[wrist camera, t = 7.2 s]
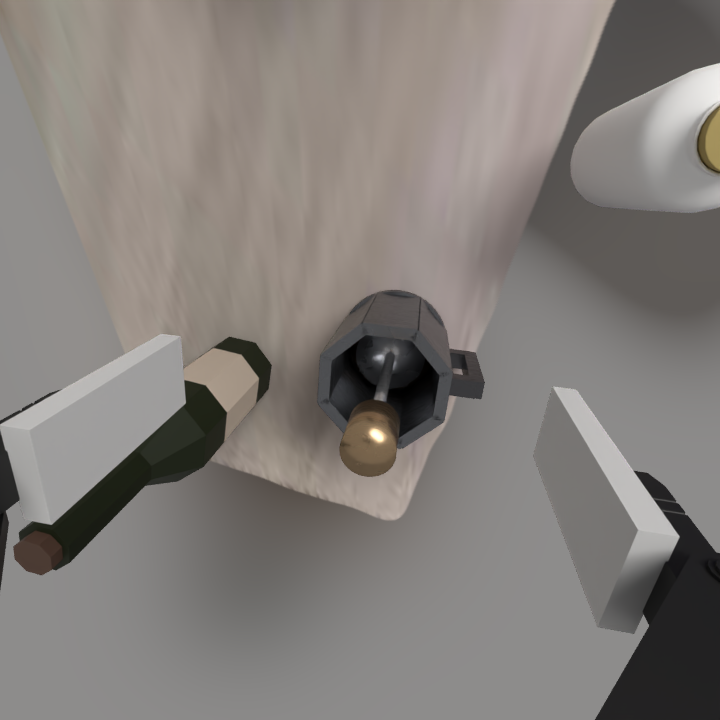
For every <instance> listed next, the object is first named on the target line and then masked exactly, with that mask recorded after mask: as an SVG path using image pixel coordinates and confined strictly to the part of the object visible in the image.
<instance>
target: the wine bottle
mask: <svg viewBox="0 0 720 720" xmlns="http://www.w3.org/2000/svg"><path fill="white" fill-rule="evenodd" d="M271 366H272V365H271V364H270V362H269V361H268V360H267V358H266V357H265V355H264V354H263V353H262V351H261V350H260V349H259V347H258V346H257V344H256V343H253V342H249V341H245V340H241V339H237V338H233V337H228V338H227V339H225V340H224V341H222V342H221V343H219V344H218V345H217V346H215V347H214V348H212V349H211V350H209V351H208V352H206V353H205V354H203V355H202V356H201V357H199V358H198V359H196V360H195V361H193V362H192V363H191V364H189V365H188V366H186V367H185V368H183V371H184V384H185V398H186V404H185V405H183V406H182V407H181V408H180V409H179V410H178V411H177V412H176V413H175V414H174V415H172V416H171V417H170V418H169V419H168V420H167V421H166V422H165V423H164V424H162V425H161V426H160V427H159V428H158V429H157V430H156V431H155V432H154V433H153V434H151V435H150V436H149V437H148V438H147V439H146V440H145V441H144V442H143V443H141V444H140V445H139V446H138V447H137V448H136V449H135V450H134V451H133V452H132V453H130V454H129V455H128V456H127V457H126V458H125V459H124V460H123V461H122V462H120V463H119V464H118V465H117V466H116V467H115V468H114V469H113V470H112V471H111V472H109V473H108V474H107V475H106V476H105V477H104V478H103V479H102V480H101V481H100V482H98V483H97V484H96V485H95V486H94V487H93V488H92V489H91V490H90V491H88V492H87V493H86V494H85V495H84V496H83V497H82V498H81V499H80V500H79V501H77V502H76V503H75V504H74V505H73V506H72V507H71V508H70V509H69V510H67V511H66V512H65V513H64V514H63V515H62V516H61V517H60V518H59V519H58V520H56V521H55V522H54V523H53V524H52V525H50V524H44V523H39V522H34V521H32V522H31V523H30V524H29V525H27V526H26V527H25V528H24V529H22V530H21V531H20V532H19V538H20V542H19V543H18V544H16V545H15V546H14V556H15V560H16V561H17V562H18V563H19V564H20V565H21V566H22V567H23V568H24V569H25V570H26V571H28V572H32V573H36V574H39V575H43V574H45V573H47V572H49V571H50V570H52V569H54V570H57V569H59V568H61V567H63V566H65V565H66V564H68V563H70V562H71V561H72V560H73V559H74V558H75V557H76V556H77V555H78V554H79V553H80V552H81V551H82V549H84V547H86V545H87V544H88V543H89V542H90V541H91V540H92V539H93V538H94V537H95V536H96V535H97V534H98V533H99V532H100V531H101V530H102V529H103V528H104V527H105V526H106V525H107V524H108V523H109V522H110V521H111V520H112V519H113V518H114V517H115V516H116V515H117V514H118V513H119V512H120V511H121V510H122V509H123V508H124V507H125V506H126V505H127V504H128V502H130V501H131V500H132V499H133V498H134V497H135V496H136V494H137V493H138V492H139V491H140V490H141V489H142V488H143V487H144V486H147V485H154V484H161V483H169V482H176V481H179V480H181V479H183V478H184V477H186V476H188V475H190V474H191V473H193V472H195V471H197V470H199V469H200V468H202V467H204V466H205V464H206V463H207V462H208V461H209V460H210V458H211V457H212V456H213V455H214V454H215V452H216V451H217V450H218V449H219V448H220V446H221V445H222V444H223V443H224V442H225V440H226V439H227V438H228V437H229V436H230V434H231V433H232V432H233V431H234V430H235V428H236V427H237V426H238V425H239V424H240V422H241V421H242V420H243V419H244V418H245V416H246V415H247V414H248V413H249V412H250V410H251V409H252V408H253V407H254V406H255V404H256V403H257V402H258V401H259V400H260V398H261V397H262V396H263V395H264V394H265V392H266V391H267V390H268V388H269V380H270V373H271Z"/></svg>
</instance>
